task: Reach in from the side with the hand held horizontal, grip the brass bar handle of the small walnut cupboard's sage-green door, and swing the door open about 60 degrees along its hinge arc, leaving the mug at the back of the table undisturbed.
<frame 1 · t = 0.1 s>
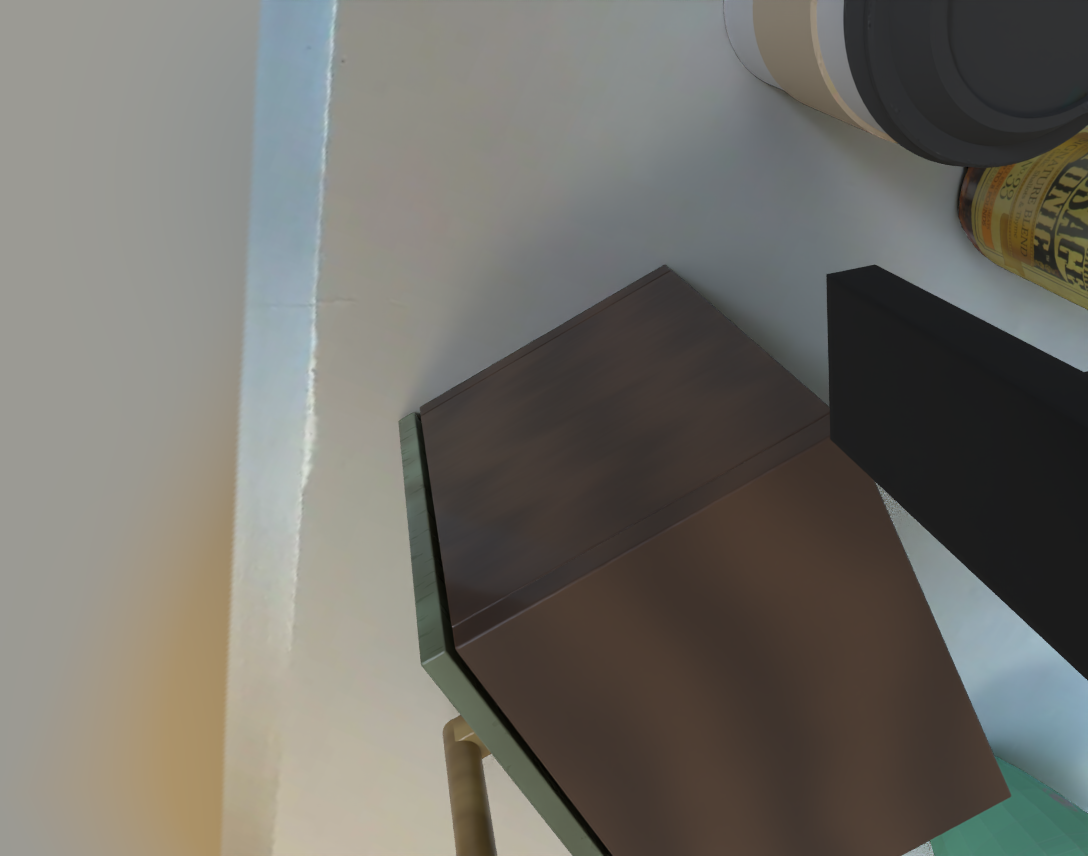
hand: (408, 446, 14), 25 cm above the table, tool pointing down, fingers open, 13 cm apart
cupboard: (623, 477, 44), on the table
cupboard door: (456, 703, 37), point 9 cm above the table, hinge at 0.0°
sauce bottle: (1010, 193, 42), on the table
mug: (977, 799, 57), on the table
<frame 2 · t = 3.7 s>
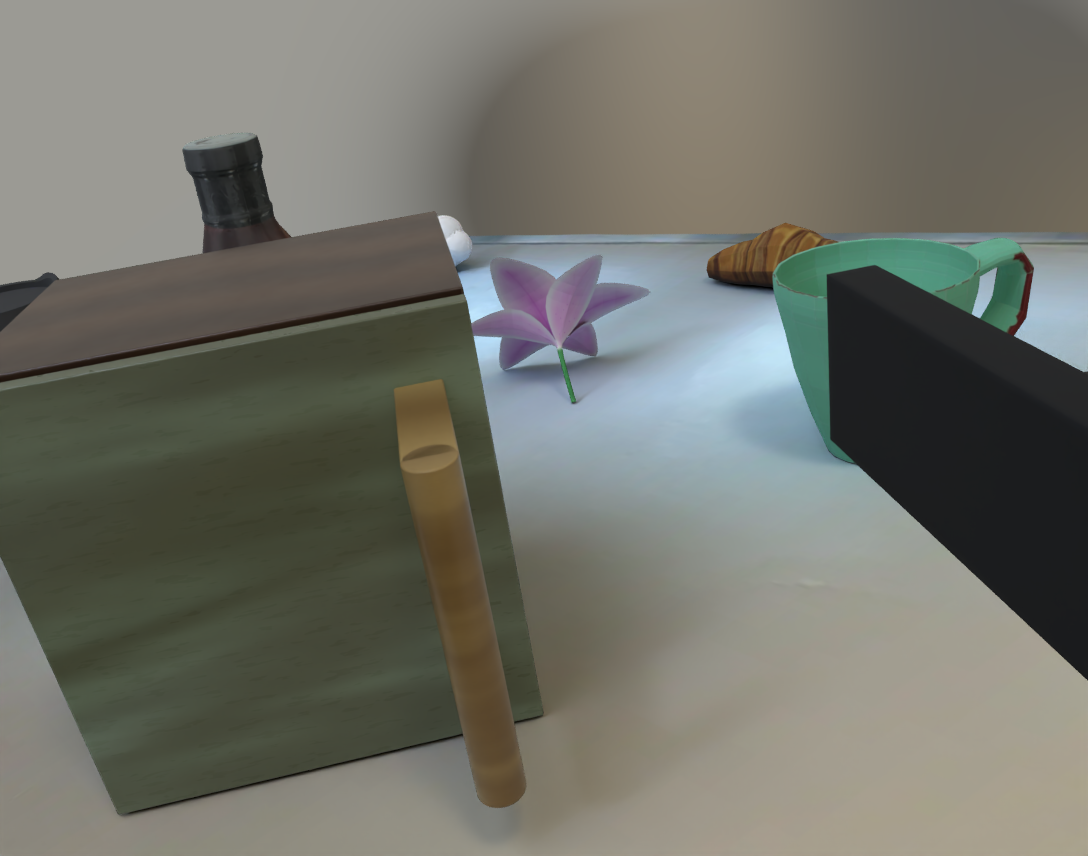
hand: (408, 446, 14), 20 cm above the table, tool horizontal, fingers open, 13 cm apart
croissant: (787, 286, 78), on the table
cupboard: (339, 652, 43), on the table
coffee cup: (91, 546, 55), on the table
cupboard door: (270, 628, 30), point 9 cm above the table, hinge at 0.0°
lily: (563, 382, 67), on the table
sauce bottle: (304, 463, 61), on the table
mug: (908, 434, 53), on the table
microfossil shell: (453, 272, 96), on the table
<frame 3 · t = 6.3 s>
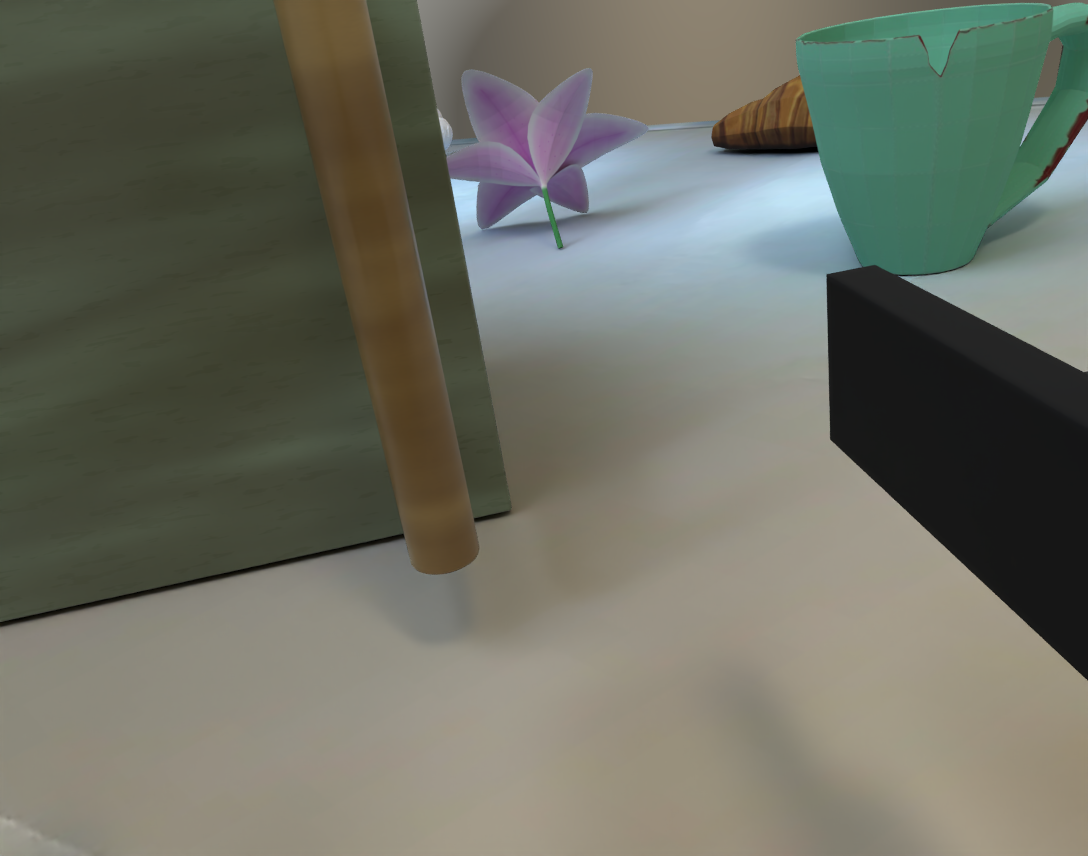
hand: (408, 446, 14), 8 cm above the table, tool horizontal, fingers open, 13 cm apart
croissant: (802, 151, 70), on the table
cupboard door: (119, 324, 22), point 9 cm above the table, hinge at 0.0°
lily: (549, 235, 58), on the table
mug: (957, 249, 45), on the table
microfossil shell: (432, 166, 87), on the table
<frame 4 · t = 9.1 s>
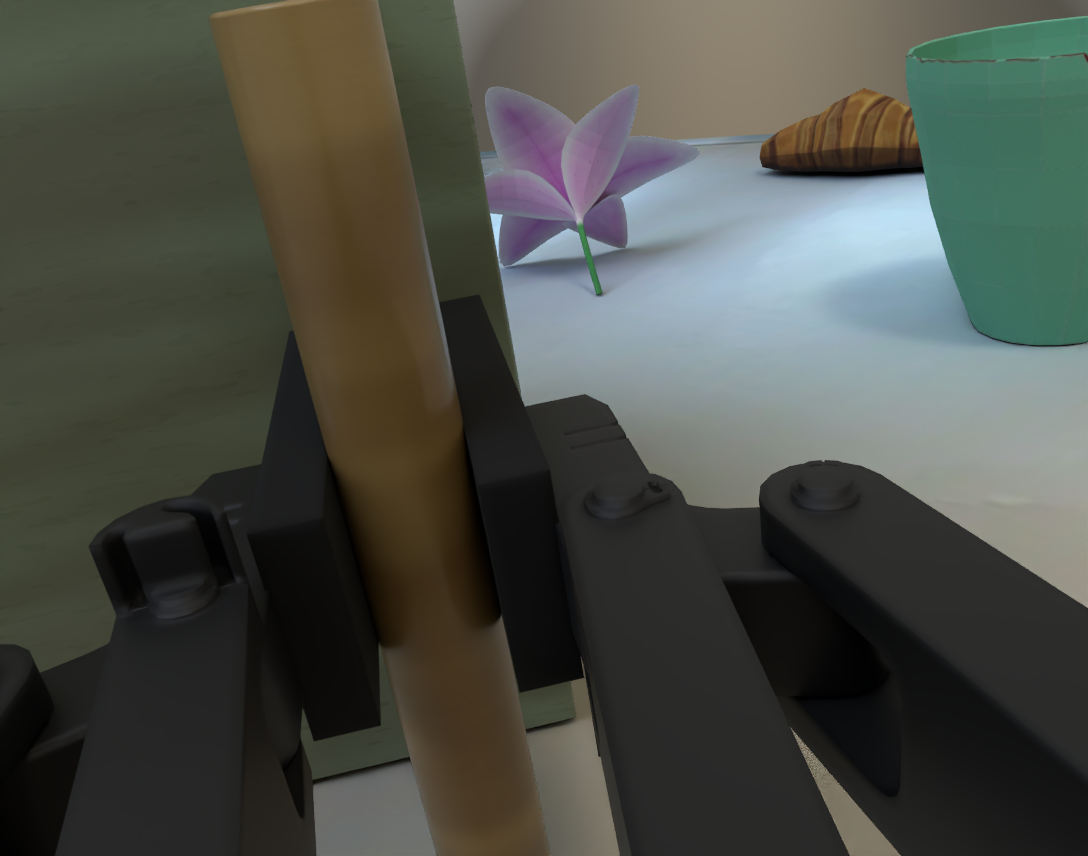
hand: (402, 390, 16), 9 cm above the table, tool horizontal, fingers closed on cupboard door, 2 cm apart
croissant: (864, 173, 62), on the table
lily: (583, 276, 50), on the table
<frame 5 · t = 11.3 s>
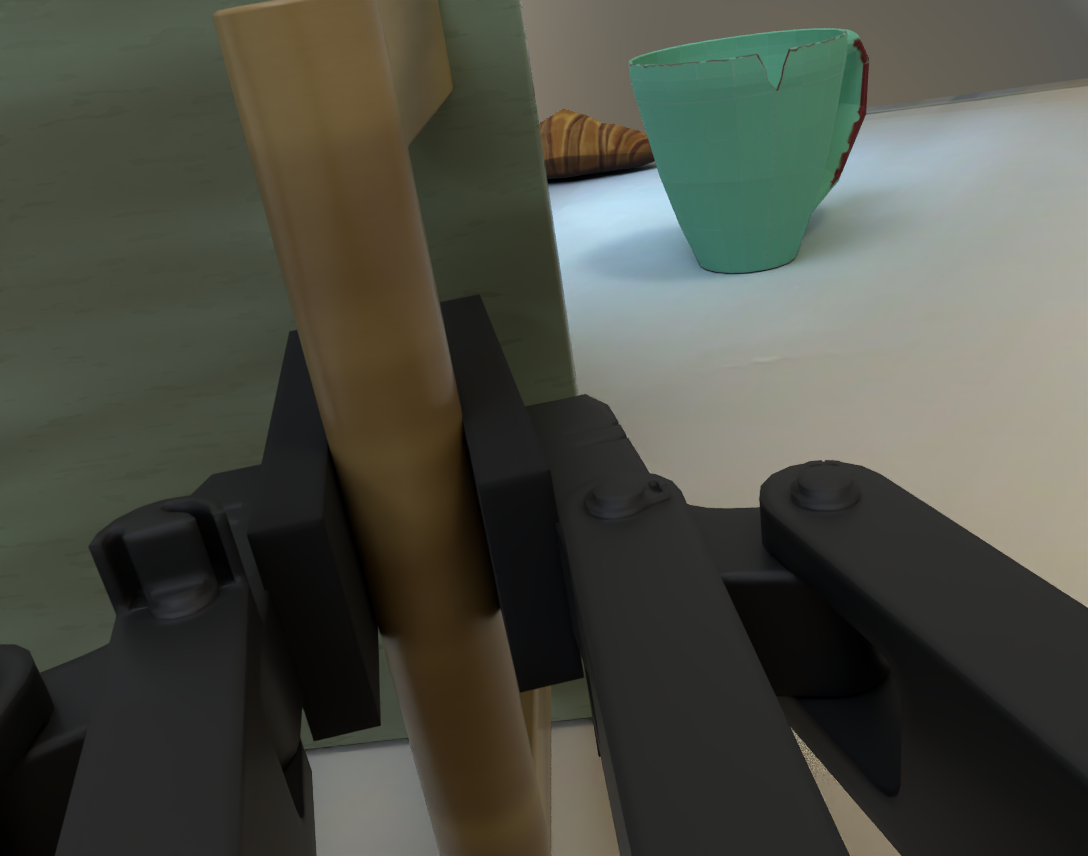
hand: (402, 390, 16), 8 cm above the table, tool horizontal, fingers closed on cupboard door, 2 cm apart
croissant: (572, 179, 74), on the table
cupboard door: (56, 479, 15), point 9 cm above the table, hinge at 30.5°, touching gripper
mug: (776, 248, 50), on the table
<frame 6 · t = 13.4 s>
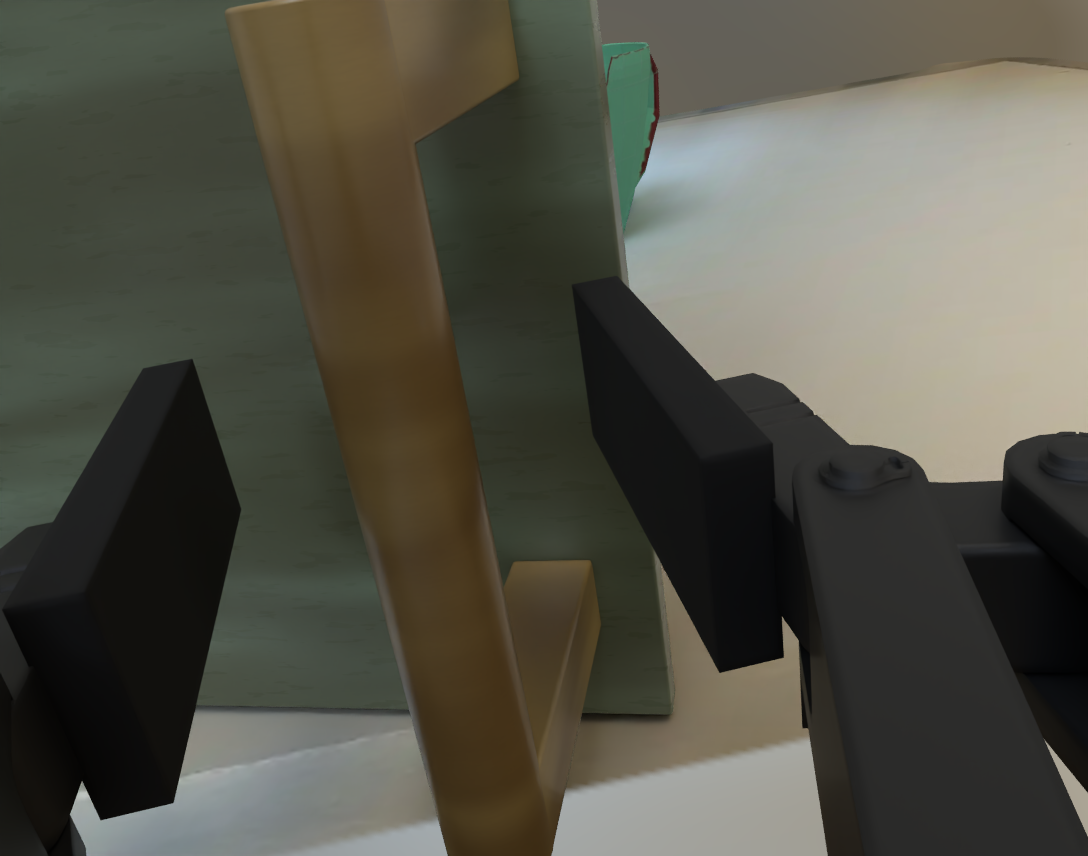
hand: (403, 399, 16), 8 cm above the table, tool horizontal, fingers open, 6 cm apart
cupboard door: (130, 435, 16), point 9 cm above the table, hinge at 56.8°
mug: (602, 230, 58), on the table
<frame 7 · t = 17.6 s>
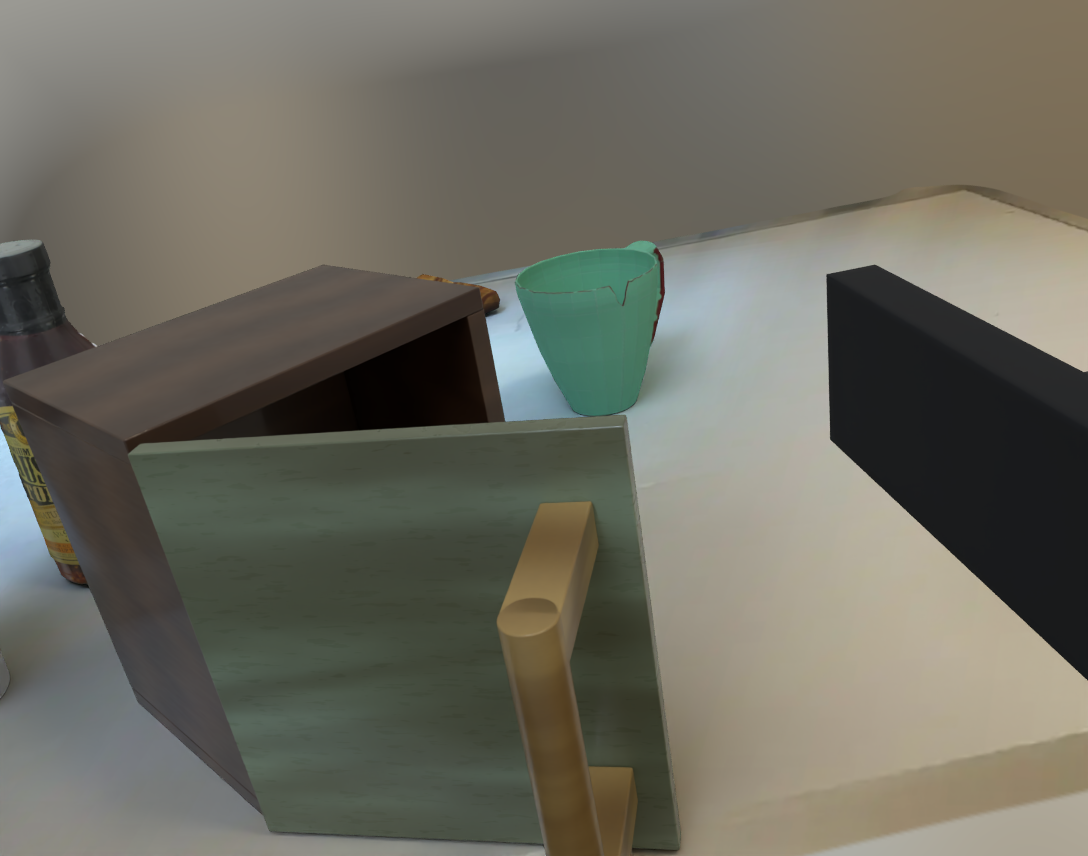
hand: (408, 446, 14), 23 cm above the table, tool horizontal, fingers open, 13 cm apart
croissant: (433, 326, 93), on the table
cupboard: (343, 656, 48), on the table
cupboard door: (390, 720, 30), point 8 cm above the table, hinge at 56.8°
sauce bottle: (118, 563, 60), on the table
mug: (619, 390, 72), on the table
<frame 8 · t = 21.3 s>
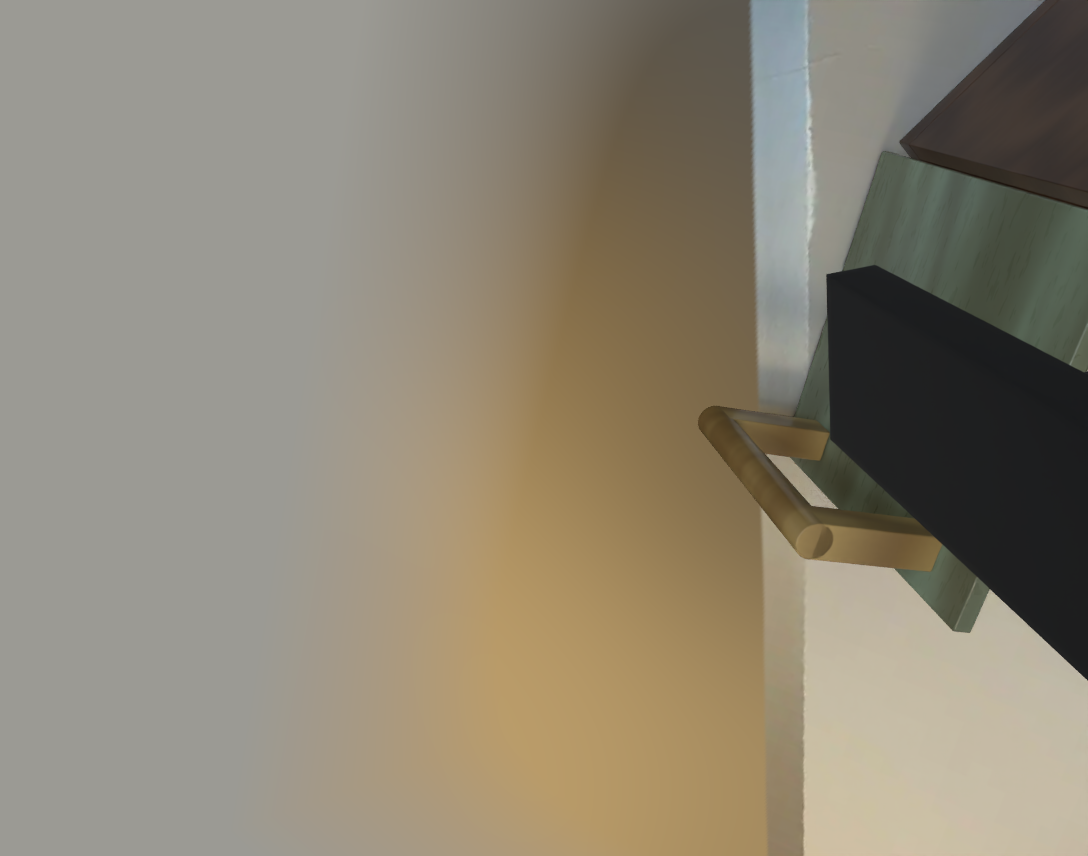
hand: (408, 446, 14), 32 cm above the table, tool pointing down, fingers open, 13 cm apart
cupboard: (1075, 168, 49), on the table
cupboard door: (857, 355, 41), point 9 cm above the table, hinge at 56.8°
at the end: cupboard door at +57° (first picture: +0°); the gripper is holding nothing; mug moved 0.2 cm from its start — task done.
